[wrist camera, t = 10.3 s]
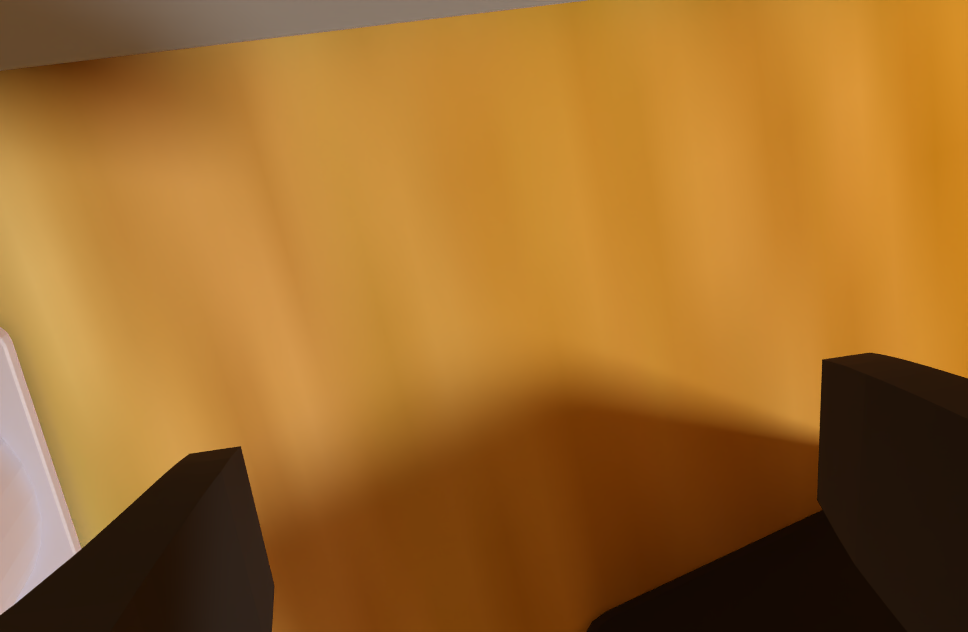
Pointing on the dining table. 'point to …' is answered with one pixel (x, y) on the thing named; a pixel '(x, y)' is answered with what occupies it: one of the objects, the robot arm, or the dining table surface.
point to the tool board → (196, 23)
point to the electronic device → (764, 591)
